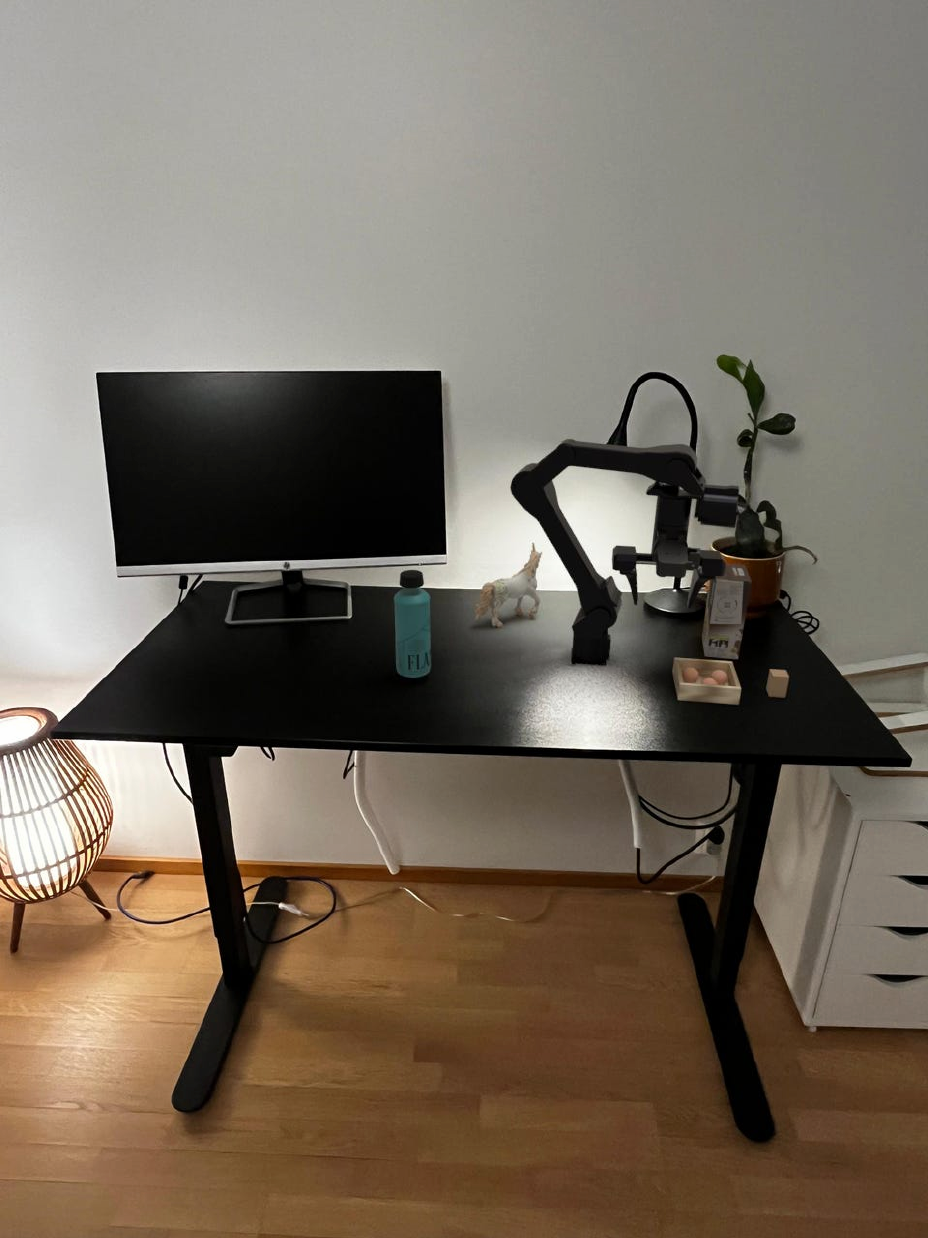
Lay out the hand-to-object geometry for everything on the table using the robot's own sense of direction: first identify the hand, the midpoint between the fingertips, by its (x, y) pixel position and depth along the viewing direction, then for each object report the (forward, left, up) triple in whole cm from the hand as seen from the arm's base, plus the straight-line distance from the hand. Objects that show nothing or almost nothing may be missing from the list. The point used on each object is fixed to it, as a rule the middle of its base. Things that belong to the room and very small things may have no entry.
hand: (662, 605), depth 143 cm
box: (+8, -7, -12) cm, 16 cm away
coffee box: (+13, +10, -13) cm, 21 cm away
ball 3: (+10, -6, -12) cm, 17 cm away
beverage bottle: (-43, -10, -13) cm, 46 cm away
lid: (+20, -7, -13) cm, 25 cm away
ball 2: (+8, -9, -12) cm, 17 cm away
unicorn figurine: (-29, +20, -13) cm, 37 cm away
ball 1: (+6, -5, -12) cm, 14 cm away
